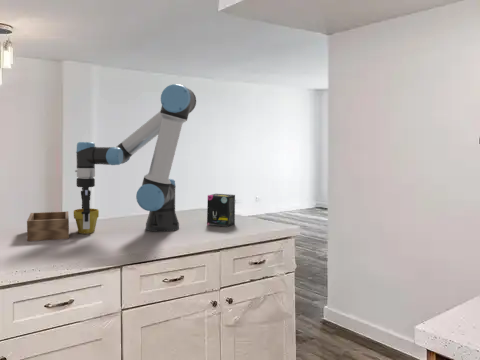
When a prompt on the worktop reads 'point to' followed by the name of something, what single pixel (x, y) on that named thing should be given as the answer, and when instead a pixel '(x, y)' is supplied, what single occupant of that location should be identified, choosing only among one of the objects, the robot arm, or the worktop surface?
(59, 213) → the open wooden box
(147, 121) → the robot arm
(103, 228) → the worktop surface
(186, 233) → the worktop surface
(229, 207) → the tampon box
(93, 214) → the plant pot
